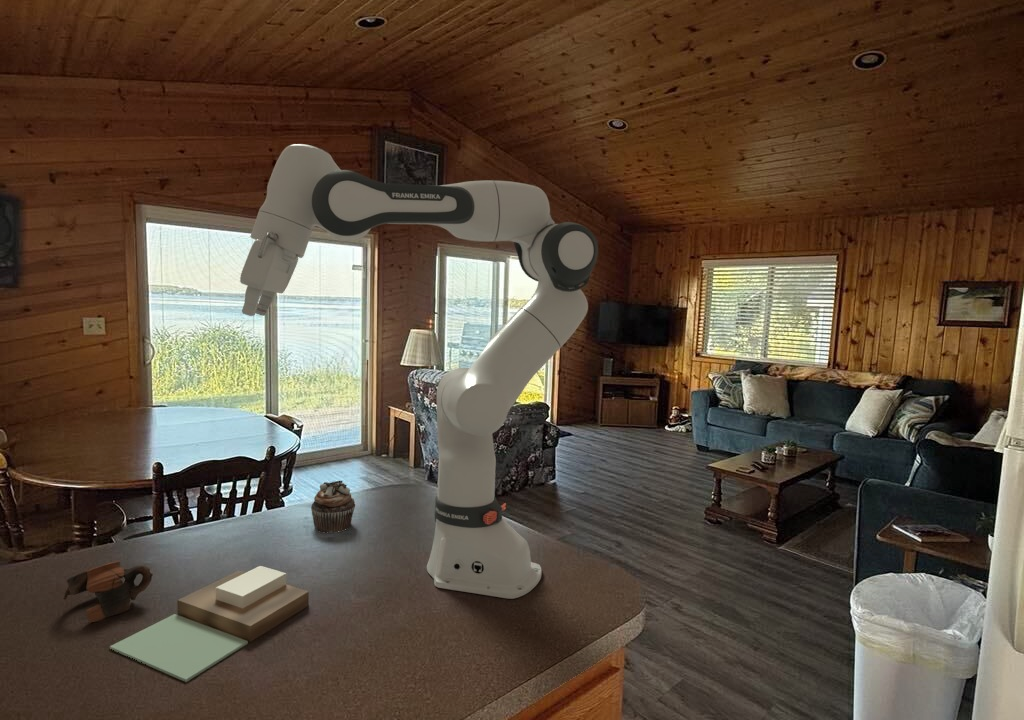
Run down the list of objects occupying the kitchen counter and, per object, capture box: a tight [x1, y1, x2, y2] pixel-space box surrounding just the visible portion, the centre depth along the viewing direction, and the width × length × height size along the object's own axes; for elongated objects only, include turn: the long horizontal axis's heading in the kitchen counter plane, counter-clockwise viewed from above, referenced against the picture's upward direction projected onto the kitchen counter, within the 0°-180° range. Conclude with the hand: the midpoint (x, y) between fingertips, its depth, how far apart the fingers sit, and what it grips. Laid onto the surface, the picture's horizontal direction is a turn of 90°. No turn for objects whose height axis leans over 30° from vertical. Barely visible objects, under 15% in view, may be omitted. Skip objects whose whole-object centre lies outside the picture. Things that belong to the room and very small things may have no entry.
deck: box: [176, 570, 310, 643], centre depth 95 cm, size 16×12×2 cm
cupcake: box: [310, 480, 356, 534], centre depth 132 cm, size 10×10×10 cm
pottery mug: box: [63, 560, 153, 623], centre depth 95 cm, size 12×10×8 cm
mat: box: [109, 613, 249, 683], centre depth 85 cm, size 16×10×1 cm, turn 66°
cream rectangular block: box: [216, 565, 287, 608], centre depth 97 cm, size 9×6×2 cm, turn 156°
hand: (254, 314), depth 99 cm, fingers open, 8 cm apart
